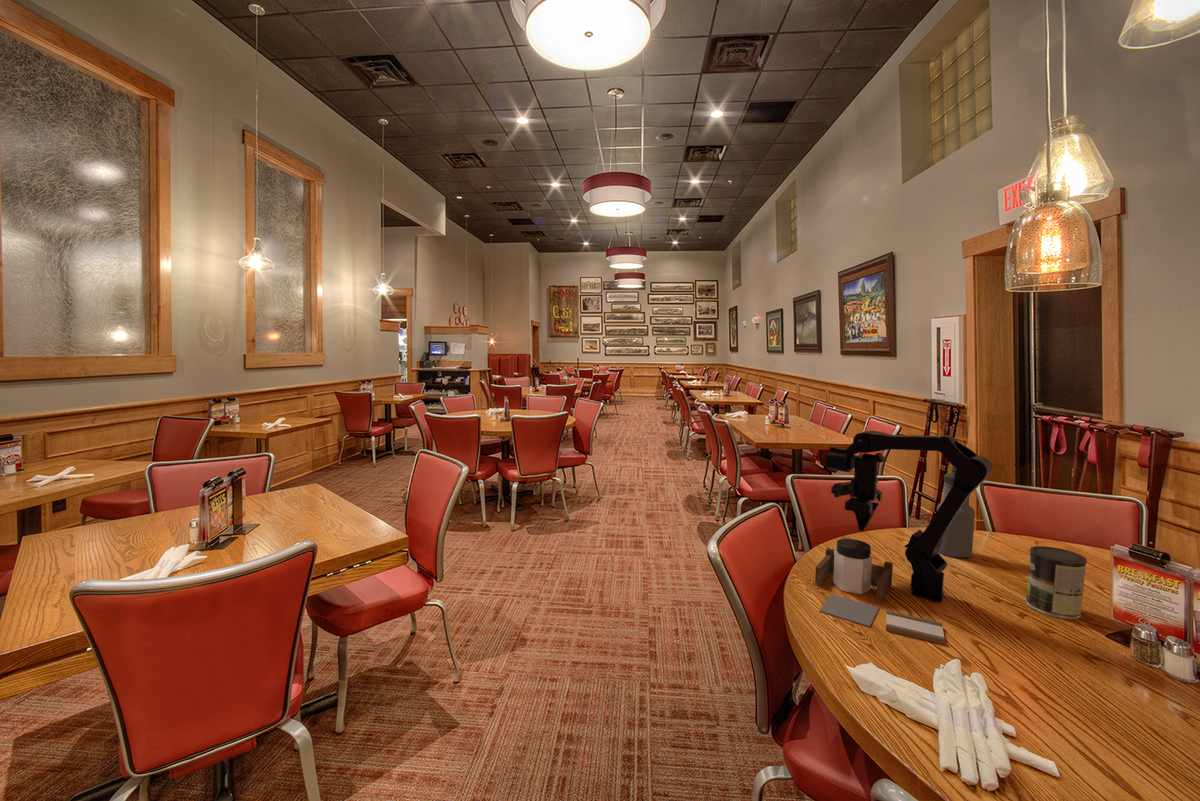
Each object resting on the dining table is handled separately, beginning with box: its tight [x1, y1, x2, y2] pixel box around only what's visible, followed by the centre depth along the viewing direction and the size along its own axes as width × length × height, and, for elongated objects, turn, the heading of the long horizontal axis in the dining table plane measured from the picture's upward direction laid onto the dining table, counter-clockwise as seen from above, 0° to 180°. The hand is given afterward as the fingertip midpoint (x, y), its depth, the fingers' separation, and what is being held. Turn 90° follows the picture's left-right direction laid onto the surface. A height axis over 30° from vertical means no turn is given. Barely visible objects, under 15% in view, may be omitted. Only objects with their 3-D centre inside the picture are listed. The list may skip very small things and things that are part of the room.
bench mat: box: [819, 594, 880, 628], centre depth 122 cm, size 11×11×1 cm
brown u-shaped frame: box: [814, 547, 894, 604], centre depth 135 cm, size 17×13×6 cm
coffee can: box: [1025, 545, 1088, 620], centre depth 122 cm, size 10×10×14 cm
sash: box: [885, 609, 946, 646], centre depth 113 cm, size 11×8×1 cm
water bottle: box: [936, 464, 976, 559], centre depth 157 cm, size 10×10×28 cm
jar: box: [832, 538, 873, 595], centre depth 134 cm, size 9×8×12 cm
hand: (862, 529), depth 142 cm, fingers open, 3 cm apart
